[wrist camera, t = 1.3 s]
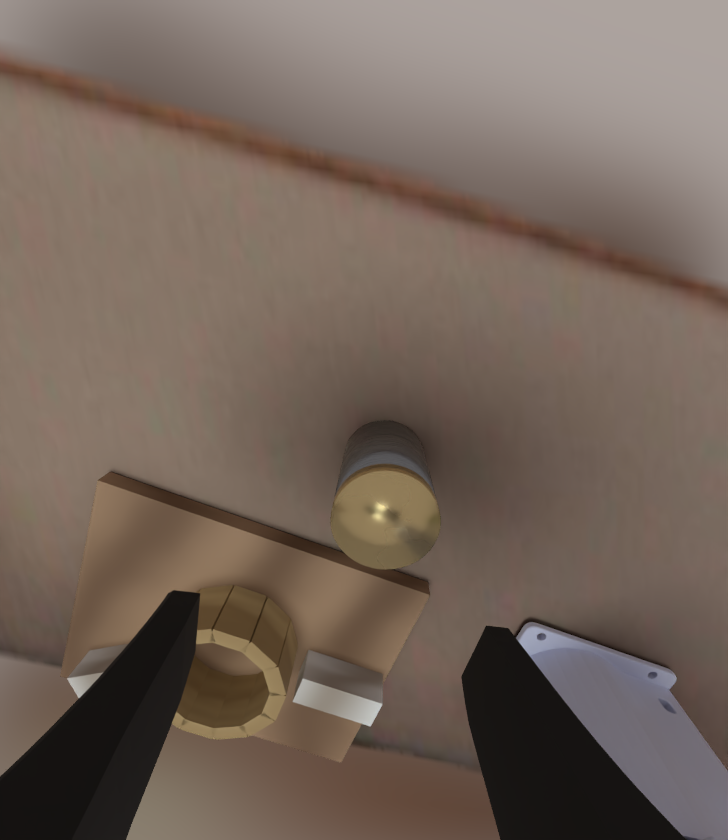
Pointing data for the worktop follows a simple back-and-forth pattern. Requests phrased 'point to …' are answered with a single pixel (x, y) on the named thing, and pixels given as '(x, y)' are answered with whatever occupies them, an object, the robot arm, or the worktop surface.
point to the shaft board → (242, 618)
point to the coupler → (385, 498)
